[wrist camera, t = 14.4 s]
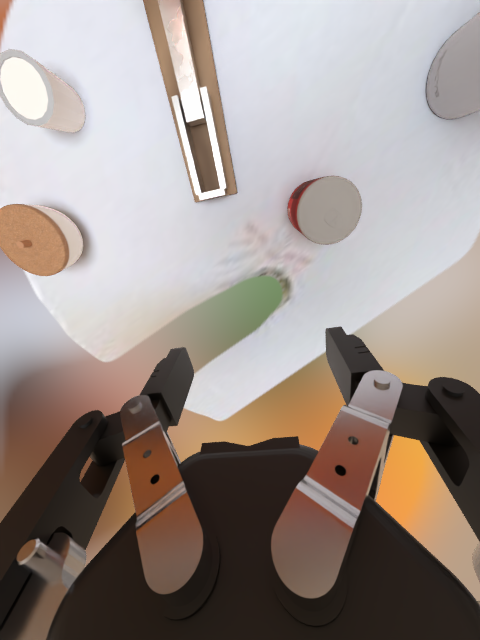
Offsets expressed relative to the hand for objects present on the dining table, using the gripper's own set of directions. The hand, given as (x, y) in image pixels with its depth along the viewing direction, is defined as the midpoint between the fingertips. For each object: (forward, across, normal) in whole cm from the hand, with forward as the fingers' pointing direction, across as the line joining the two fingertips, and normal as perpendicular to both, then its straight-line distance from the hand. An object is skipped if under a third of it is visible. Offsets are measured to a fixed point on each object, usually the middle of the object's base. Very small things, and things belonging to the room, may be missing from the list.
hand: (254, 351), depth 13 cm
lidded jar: (+32, +34, -8) cm, 48 cm away
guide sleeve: (+31, +5, -15) cm, 35 cm away
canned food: (+32, -10, -4) cm, 34 cm away
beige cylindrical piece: (+32, +24, -24) cm, 47 cm away
